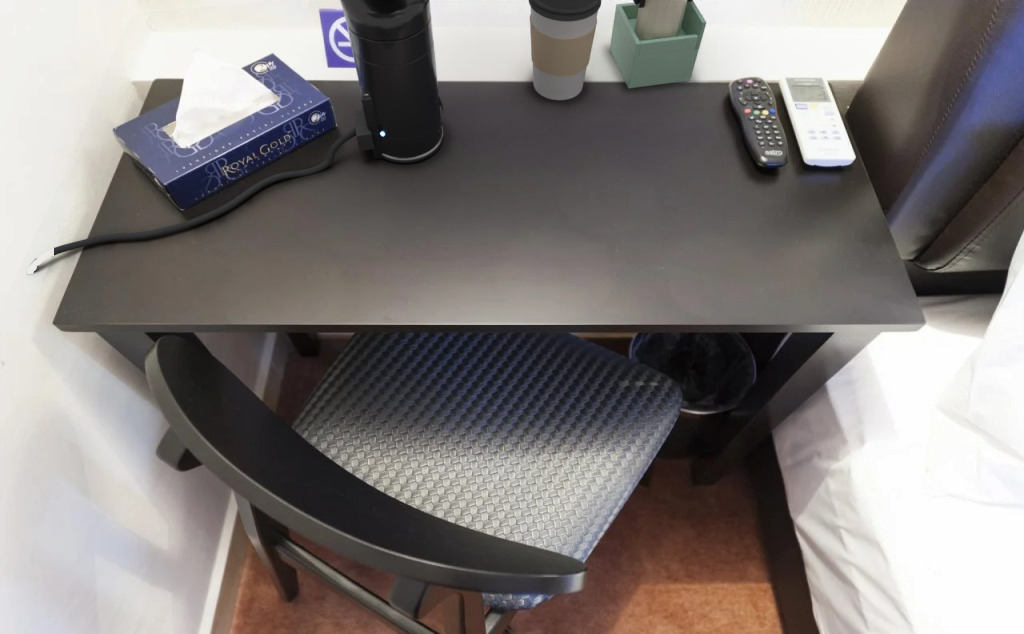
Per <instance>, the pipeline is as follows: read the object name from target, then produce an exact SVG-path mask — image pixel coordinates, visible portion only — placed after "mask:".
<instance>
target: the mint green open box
mask: <svg viewBox="0 0 1024 634" xmlns="http://www.w3.org/2000/svg"><path fill="white" fill-rule="evenodd" d="M637 13H638V7H637V5H636V4H635V3H634V1H633V2H625V3H618V4H617V3H616V5H615V11H614V18H613V24H612V31H611V37H610V45H609V51H610V54H611V55H612V57H613V59H614V62H615V64H616V66H617V68H618V70H619V72H620V74H621V76H622V79H623V80H624V82H625V85H626V88H627V89H635V88H643V87H652V86H660V85H666V84H674V83H675V84H676V83H681V82H690V81H691V80H692V76H693V72H694V69H695V65H696V61H697V58H698V54H699V50H700V47H701V44H702V40H703V37H704V33H705V30H706V26H707V20H706V19H705V17H704V16H703V14H702V13H701V10H700V9H699V7H698V6H697V5H696V3H695V1H694V0H693V1H692V2H687V3H686V7H685V11H684V15H683V19H682V23H681V28H680V32H679V35H678V37H669V38H661V39H653V40H645V41H640V40H639V39H638V37H637V35H636V34H635V32H634V30H635V24H636V19H637Z"/></svg>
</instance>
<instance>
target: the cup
mask: <svg viewBox="0 0 1024 634" xmlns="http://www.w3.org/2000/svg"><path fill="white" fill-rule="evenodd" d="M686 3H687V0H645V5H644V8H638V13H637V19H636V24H635V30H634V32H635V34H636V35H637V37H638V39H639V40H640V41H645V40H653V39H661V38H669V37H678V35H679V32H680V28H681V23H682V19H683V15H684V11H685V7H686Z"/></svg>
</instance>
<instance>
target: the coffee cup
mask: <svg viewBox="0 0 1024 634" xmlns="http://www.w3.org/2000/svg"><path fill="white" fill-rule="evenodd" d="M528 4H529V6H530V15H529V30H530V55H531V63H532V82H533V83H532V84H533V88H534V90H535V91H536V93H537V94H539V95H540V96H542V97H544V98H546V99H547V100H553V101H566V100H570V99H573V98H575V97H577V96H578V95H579V94H581V92H582V90H583V87H584V81H585V78H586V77H585V76H586V73H587V67H588V66H589V64H590V59H591V54H592V48H593V44H594V40H595V35H596V31H597V25H598V14H599V10H600V8H601V6H602V0H528Z"/></svg>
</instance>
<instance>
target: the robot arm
mask: <svg viewBox="0 0 1024 634" xmlns="http://www.w3.org/2000/svg"><path fill="white" fill-rule="evenodd" d="M632 1H633V2H634V3H635V4H636V5H637V7H638V8H644V5H645V0H632ZM692 1H694V0H687V2H692ZM339 2H340V5H341V8H342V11H343V12H342V13H343V16H344V20H345V24H346V28H347V34H348V38H349V43H350V47H351V52H352V57H353V61H354V67H355V71H356V76H357V80H358V88H359V94H360V100H361V104H362V105H361V106H362V108H360V109H354V110H353V118H354V126H355V127H353V128H352V129H350V131H348V132H346V133H345V134H343V135H342V136H340V137H339V138H338V139H336V140H335V141H334V142H333V144H331V146H330V148H329V150H328V153H327V155H326V156H327V157H326V159H325V160H324V161H322V162H321V163H320V164H318V165H315V166H313V167H310V168H305V169H300V170H290V171H285V172H280V173H276V174H273V175H270V176H268V177H266V178H264V179H262V180H260V181H258V182H257V183H255V184H253V185H252V186H250V187H249V188H247V189H246V190H244V191H243V192H242V193H240V194H239V195H237V196H236V197H234V198H233V199H231V200H230V201H228V202H227V203H225V204H223V205H221V206H219V207H218V208H216V209H213V210H210V211H209V212H206V213H204V214H201V215H199V216H196V217H194V218H191V219H189V220H186V221H182V222H179V223H176V224H172V225H169V226H165V227H161V228H156V229H152V230H146V231H135V232H120V233H109V234H107V233H106V234H101V235H97V236H93V237H88V238H85V239H81V240H77V241H72V242H68V243H64V244H61V245H58V246H55V247H53V248H54V256H53V257H55V256H57V255H61V254H62V253H67V252H69V251H73V250H77V249H81V248H85V247H86V248H87V247H89V246H93V245H97V244H101V243H107V242H108V243H109V242H116V241H117V242H119V241H136V240H144V239H151V238H157V237H161V236H165V235H168V234H172V233H176V232H180V231H183V230H186V229H189V228H193V227H195V226H198V225H200V224H204V223H205V222H208V221H210V220H212V219H215V218H216V217H219V216H221V215H223V214H225V213H227V212H228V211H229V212H230V211H231V210H232V209H234V208H235V207H237V206H238V205H240V204H241V203H243V202H244V201H245V200H247V199H248V198H250V197H251V196H252V195H254V194H255V193H257V192H259V191H260V190H261V189H263V188H265V187H267V186H268V185H271V184H273V183H276V182H278V181H282V180H286V179H293V178H301V177H308V176H311V175H315V174H318V173H320V172H322V171H324V170H326V169H327V168H328V167H330V166H331V165H332V164H333V162H334V159H335V157H336V153H337V151H338V150H339V148H340V147H342V146H343V145H344V144H345V143H346V142H348V141H350V140H351V139H353V138H354V137H356V140H357V144H358V148H359V151H360V152H362V151H363V152H364V151H370V150H371V151H372V155H373V159H374V160H379V159H384V160H386V161H388V162H391V163H396V164H412V163H413V164H415V163H419V162H420V161H424V160H426V159H429V158H430V157H433V155H435V154H436V153H437V152H438V151H439V150H440V148H441V146H442V144H443V141H444V129H443V120H442V116H441V115H442V114H441V110H442V113H443V114H445V110H444V103H443V102H442V99H441V97H440V95H439V94H440V93H439V83H438V74H437V62H436V61H437V60H436V53H435V41H434V32H433V30H434V29H433V22H432V12H431V11H432V10H431V2H430V0H339Z"/></svg>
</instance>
